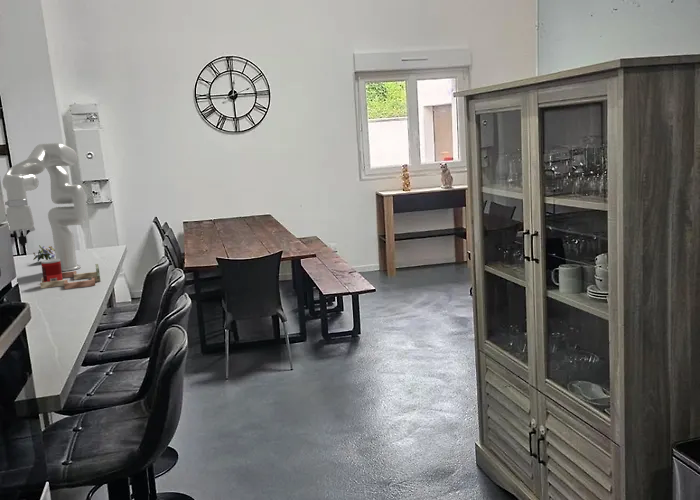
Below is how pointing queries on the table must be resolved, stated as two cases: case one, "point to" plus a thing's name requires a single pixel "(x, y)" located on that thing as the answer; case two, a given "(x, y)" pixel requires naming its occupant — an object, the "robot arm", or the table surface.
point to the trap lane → (93, 275)
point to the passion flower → (45, 253)
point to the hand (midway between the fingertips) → (23, 245)
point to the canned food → (51, 270)
